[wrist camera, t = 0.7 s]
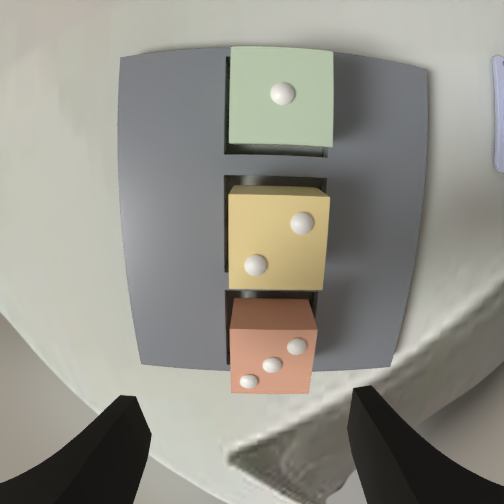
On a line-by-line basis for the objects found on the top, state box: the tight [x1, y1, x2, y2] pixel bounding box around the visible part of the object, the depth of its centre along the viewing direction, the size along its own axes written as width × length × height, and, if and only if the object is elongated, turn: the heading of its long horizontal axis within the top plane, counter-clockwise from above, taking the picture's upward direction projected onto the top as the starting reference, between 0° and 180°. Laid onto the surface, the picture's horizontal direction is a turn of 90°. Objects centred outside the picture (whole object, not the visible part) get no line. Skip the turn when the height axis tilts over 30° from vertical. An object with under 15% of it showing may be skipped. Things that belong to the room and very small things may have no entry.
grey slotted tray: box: [118, 47, 428, 372], centre depth 17 cm, size 16×18×1 cm
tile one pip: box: [229, 46, 334, 147], centre depth 13 cm, size 4×4×3 cm
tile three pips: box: [230, 298, 318, 394], centre depth 17 cm, size 4×4×3 cm
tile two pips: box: [229, 185, 330, 290], centre depth 15 cm, size 4×4×3 cm
